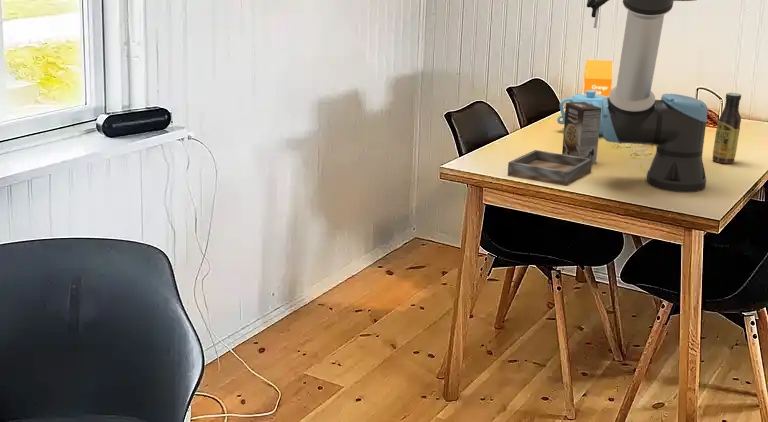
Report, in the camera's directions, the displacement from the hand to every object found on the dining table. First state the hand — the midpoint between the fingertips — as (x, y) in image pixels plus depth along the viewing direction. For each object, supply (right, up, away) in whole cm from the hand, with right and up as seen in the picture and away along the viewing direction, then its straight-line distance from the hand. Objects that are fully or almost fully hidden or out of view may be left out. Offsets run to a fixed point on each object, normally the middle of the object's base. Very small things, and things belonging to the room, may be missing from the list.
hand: (618, 27), depth 299 cm
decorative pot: (-5, -30, +21) cm, 37 cm away
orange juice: (+1, -24, +40) cm, 47 cm away
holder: (-25, -45, -27) cm, 58 cm away
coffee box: (-14, -41, -13) cm, 45 cm away
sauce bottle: (+28, -41, -11) cm, 51 cm away
